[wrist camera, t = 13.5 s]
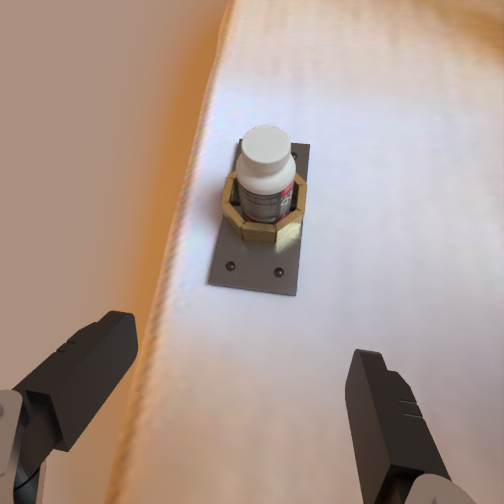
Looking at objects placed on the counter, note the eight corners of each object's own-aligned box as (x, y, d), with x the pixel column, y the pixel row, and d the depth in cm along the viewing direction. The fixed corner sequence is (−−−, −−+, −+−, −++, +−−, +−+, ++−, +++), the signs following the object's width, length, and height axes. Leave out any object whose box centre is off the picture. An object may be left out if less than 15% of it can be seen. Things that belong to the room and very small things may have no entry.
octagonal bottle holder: (240, 143, 36) (237, 122, 33) (309, 149, 35) (313, 128, 32) (210, 284, 29) (203, 274, 26) (295, 296, 28) (298, 287, 25)
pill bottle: (290, 229, 30) (301, 170, 21) (240, 229, 30) (230, 171, 21) (289, 187, 32) (298, 116, 23) (242, 188, 32) (233, 118, 23)
